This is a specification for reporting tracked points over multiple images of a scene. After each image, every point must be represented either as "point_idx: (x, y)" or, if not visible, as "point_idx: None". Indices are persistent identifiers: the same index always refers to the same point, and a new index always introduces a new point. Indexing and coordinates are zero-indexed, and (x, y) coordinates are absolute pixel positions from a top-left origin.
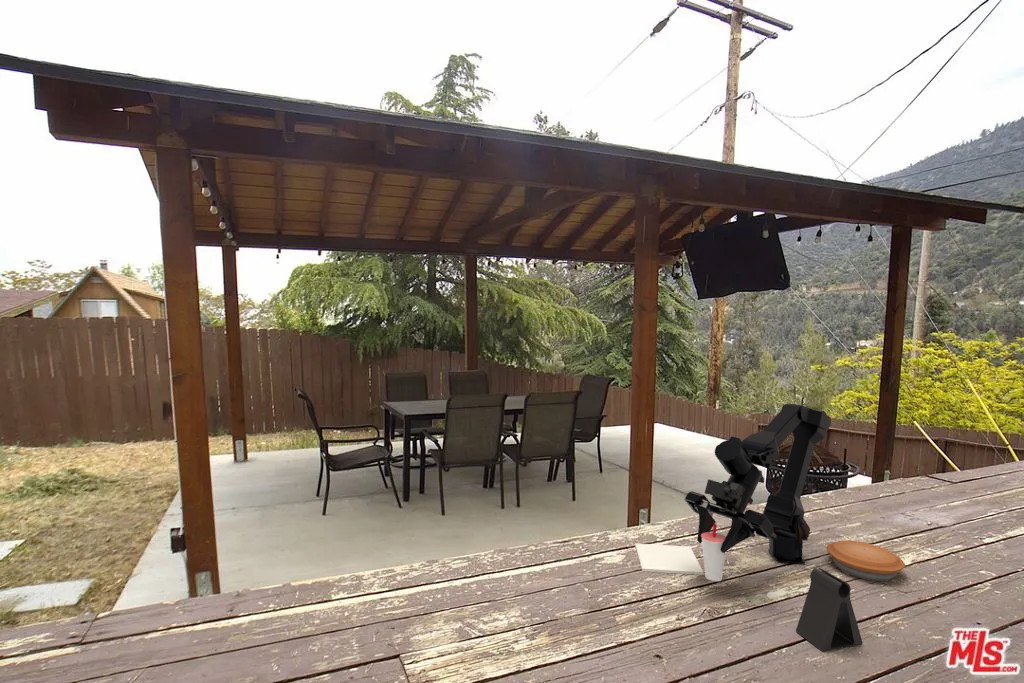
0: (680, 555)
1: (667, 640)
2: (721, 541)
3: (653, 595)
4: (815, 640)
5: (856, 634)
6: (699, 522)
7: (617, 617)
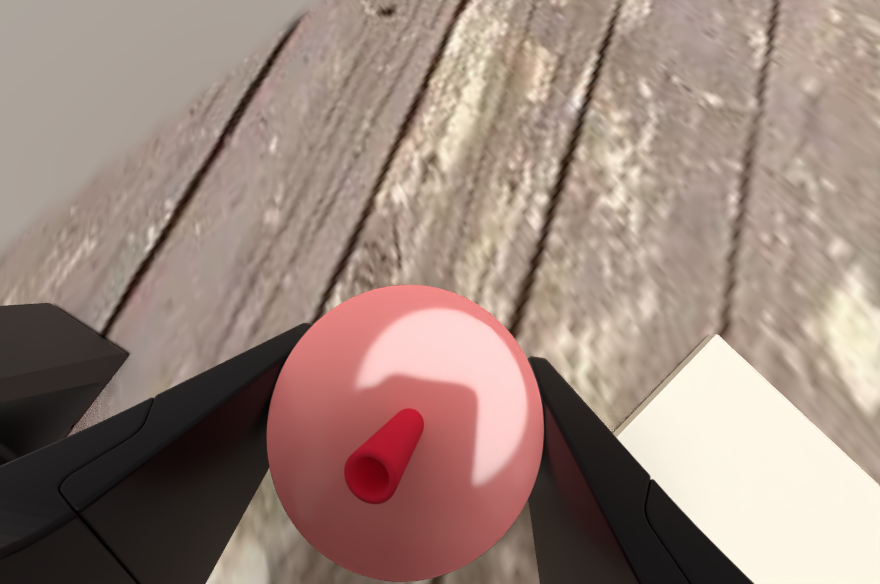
0: None
1: (401, 66)
2: (301, 363)
3: (559, 215)
4: (52, 317)
5: None
6: (683, 518)
7: (547, 56)
